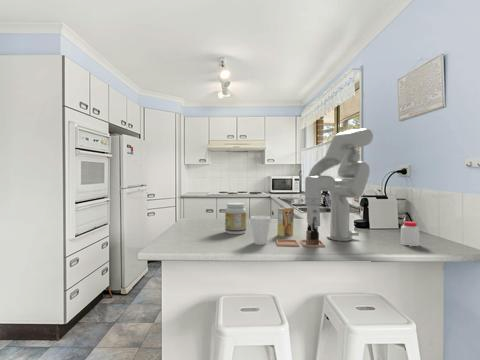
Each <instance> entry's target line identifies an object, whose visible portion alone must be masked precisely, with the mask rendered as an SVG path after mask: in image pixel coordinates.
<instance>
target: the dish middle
mask: <svg viewBox="0 0 480 360" xmlns="http://www.w3.org/2000/svg"><path fill="white" fill-rule="evenodd" d="M275 241H276V245H277V247H297V248H298V247H300V244H299V241H298V240H297V239H281V238H280V239H278V238H277V239H276V240H275Z"/></svg>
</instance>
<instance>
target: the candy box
mask: <svg viewBox="0 0 480 360" xmlns="http://www.w3.org/2000/svg"><path fill="white" fill-rule="evenodd" d="M294 211H295V209H294V207H291V206H287V207H278V208H277V232H276V233H277V234H276V235H277V236H280V237H288V236H293V235H294V215H295V213H294Z"/></svg>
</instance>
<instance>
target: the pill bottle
mask: <svg viewBox="0 0 480 360" xmlns="http://www.w3.org/2000/svg"><path fill="white" fill-rule="evenodd" d="M402 244H404V245H403V246H405V245H409V246H408V247H412V246H417V247H419V246H418V245H420V227H418V224H417V221H406V220H405V221H403V225H401V226H400V245H402Z"/></svg>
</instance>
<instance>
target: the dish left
mask: <svg viewBox="0 0 480 360" xmlns="http://www.w3.org/2000/svg"><path fill="white" fill-rule="evenodd" d="M299 241H300V244H301V245H302V247H304V248H308V247H309V248H325V247H326V244H325V243H324V242H323V241H322V240H321V239H319V245H307V243H306V239H300V240H299Z"/></svg>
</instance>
